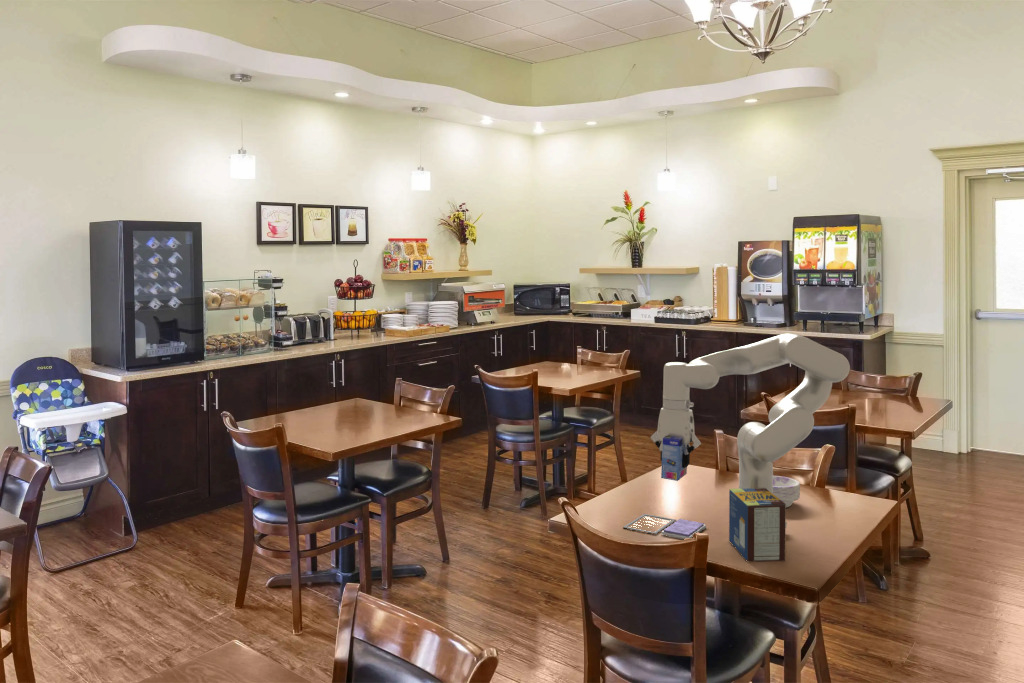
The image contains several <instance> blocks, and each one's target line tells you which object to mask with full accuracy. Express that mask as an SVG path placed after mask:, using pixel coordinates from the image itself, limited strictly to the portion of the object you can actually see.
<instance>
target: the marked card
mask: <svg viewBox="0 0 1024 683" xmlns="http://www.w3.org/2000/svg"><path fill="white" fill-rule="evenodd" d="M647 516H648V517H647ZM649 516H650V517H654V518H655V519H656V518H657V519H658V520H659V519H660V520H661V519H662V521H663V522H659V521H655V520H653V519H652V518H650V517H649ZM644 517H645V518H646V519H647V520H648V519H649V520H652V521H654V522H657V523H658V522H659V523H662V524H666V525H664V526H663V527H661V528H660V529H658V530H657V531H655V532H651V531H646V530H641V529H636V528H637V527H636V526H637V525H638V524H635V523H637V521H638V520H639V519H641V518H644ZM645 518H644V519H645ZM670 520H671V521H670ZM640 521H641V520H640ZM664 521H665V522H664ZM666 521H667V522H669V523H667V522H666ZM674 521H675V522H676V521H677V520H676V519H675V518H670V517H664V516H659V515H653V514H648V513H643V514H641V515H640V516H638V517H637V518H635V519H634V520H632V521H630V522H628V523H627V524H625V525H623V527H622V529H623V528H628V529H632V530H637V531H644V532H648V533H653V534H657V533H658V532H660V531H661V530H662V531H663V529H664V528H665V529H666V527H667V526H668V527H669V525H670V524H671V525H672V523H673V522H674ZM643 522H644V521H643ZM645 522H646V523H647V522H648V523H651V524H653V525H654V524H655V523H654V522H651V521H645ZM675 522H674V523H675ZM633 523H634V524H633ZM638 523H640V522H638ZM632 524H633V525H636V526H633V527H636V528H631V527H632V526H631V527H628V526H630V525H632ZM641 524H642V523H641ZM644 525H645V524H644ZM646 525H649V526H652V525H650V524H646ZM655 525H656V524H655ZM657 525H658V524H657ZM638 526H641V525H638ZM660 526H661V525H660ZM641 527H642V526H641ZM653 527H654V526H653ZM638 528H639V527H638ZM648 528H649V527H648ZM632 530H631V531H632ZM637 531H636V532H637ZM662 531H661V532H662ZM661 532H660V533H661ZM658 534H659V533H658ZM658 534H657V535H658Z"/></svg>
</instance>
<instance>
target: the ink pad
mask: <svg viewBox="0 0 1024 683" xmlns="http://www.w3.org/2000/svg"><path fill="white" fill-rule="evenodd" d="M706 528H707V524H705V523H704V522H699V521H692V520H690V519H689V520H688V519H683V518H679V519H677V520H676V521H675V522H674V523H673V524H671V525H670V526H668V527H667V528H665V529H664V530H662V531H661V535H662V534H663V535H662V536H664V535H667V536H666V537H669V536H670V538H674V539H679V540H684V539H685V538H692V536H693V534H694V533H697V532H700V533H702V532H703V531H704V530H706ZM702 530H703V531H702ZM692 539H693V538H692Z"/></svg>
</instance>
